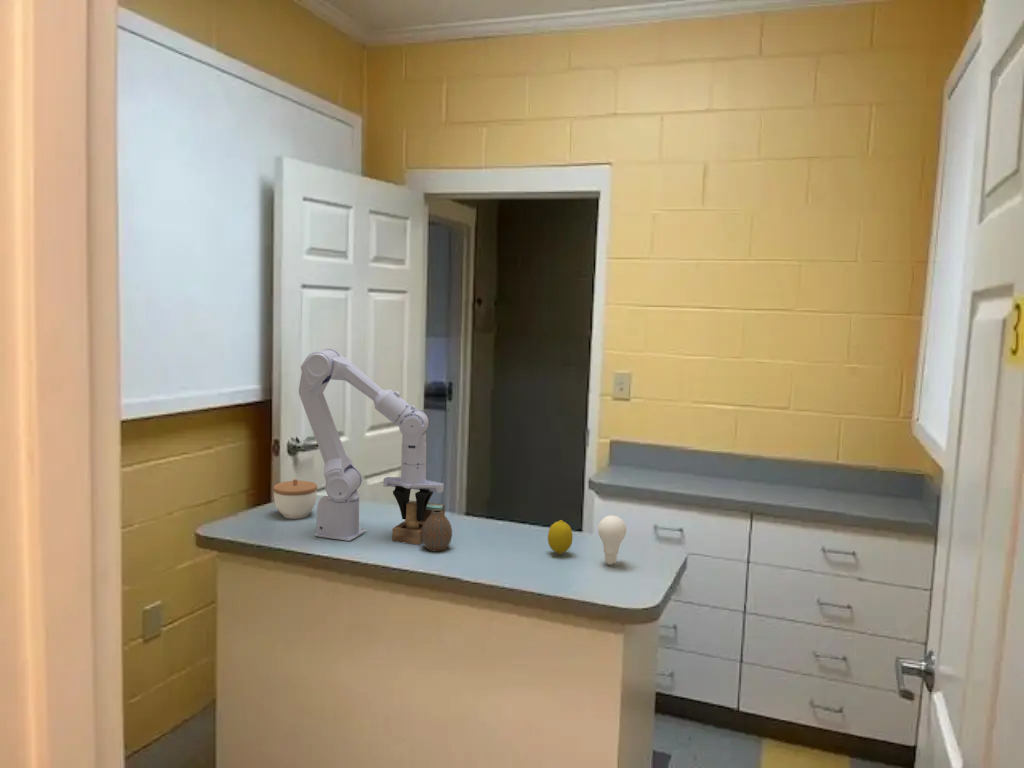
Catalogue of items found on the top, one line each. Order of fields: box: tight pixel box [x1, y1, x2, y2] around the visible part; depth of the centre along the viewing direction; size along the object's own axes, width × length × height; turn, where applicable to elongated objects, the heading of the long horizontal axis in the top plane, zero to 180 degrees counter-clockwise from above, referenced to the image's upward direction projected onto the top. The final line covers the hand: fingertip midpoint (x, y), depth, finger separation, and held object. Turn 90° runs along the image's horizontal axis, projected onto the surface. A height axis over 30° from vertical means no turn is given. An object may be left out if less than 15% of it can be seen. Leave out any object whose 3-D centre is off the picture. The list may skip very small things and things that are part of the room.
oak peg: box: [406, 502, 419, 530], centre depth 182 cm, size 3×3×8 cm
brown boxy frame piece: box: [391, 499, 446, 546], centre depth 184 cm, size 10×11×7 cm
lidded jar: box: [272, 478, 318, 520], centre depth 197 cm, size 11×11×9 cm
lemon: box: [547, 519, 573, 556], centre depth 174 cm, size 6×6×8 cm
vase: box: [422, 510, 453, 552], centre depth 176 cm, size 7×7×9 cm
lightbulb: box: [597, 515, 627, 566], centre depth 169 cm, size 6×6×11 cm
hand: (412, 519), depth 182 cm, fingers open, 3 cm apart
